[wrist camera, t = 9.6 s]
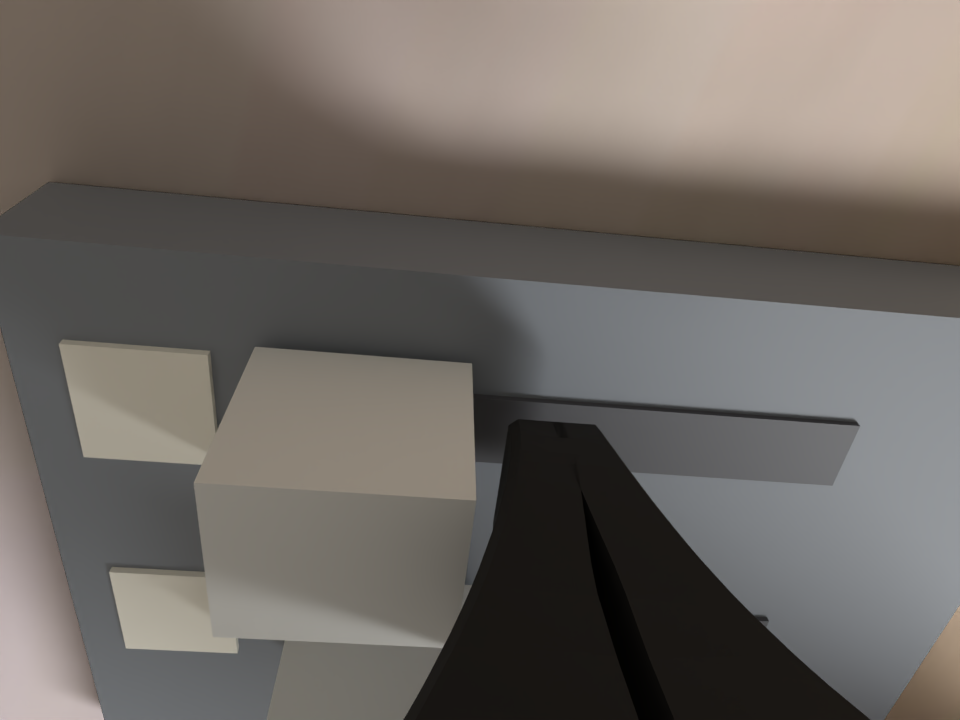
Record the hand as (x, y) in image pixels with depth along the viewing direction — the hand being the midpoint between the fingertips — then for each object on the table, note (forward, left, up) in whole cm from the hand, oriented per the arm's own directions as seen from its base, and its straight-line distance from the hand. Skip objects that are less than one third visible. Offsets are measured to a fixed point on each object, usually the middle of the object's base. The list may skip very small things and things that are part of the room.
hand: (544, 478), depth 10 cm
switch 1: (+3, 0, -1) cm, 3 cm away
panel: (0, +5, -3) cm, 5 cm away
